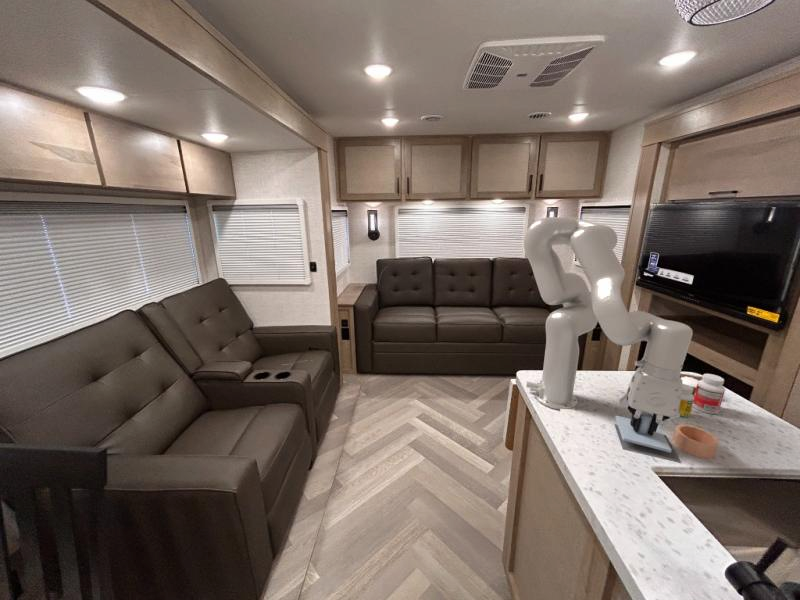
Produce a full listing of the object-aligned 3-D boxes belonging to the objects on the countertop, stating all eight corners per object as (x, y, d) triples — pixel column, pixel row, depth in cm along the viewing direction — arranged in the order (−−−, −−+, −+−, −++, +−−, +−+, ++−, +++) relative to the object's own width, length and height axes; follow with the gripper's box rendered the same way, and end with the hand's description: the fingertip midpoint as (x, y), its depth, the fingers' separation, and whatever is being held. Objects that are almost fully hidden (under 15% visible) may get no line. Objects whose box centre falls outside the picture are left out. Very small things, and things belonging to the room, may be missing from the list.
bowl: (679, 454, 79) (682, 440, 78) (667, 435, 87) (671, 421, 85) (720, 464, 76) (725, 449, 75) (705, 443, 83) (709, 429, 82)
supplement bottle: (669, 407, 99) (676, 380, 97) (691, 415, 95) (699, 387, 92) (663, 412, 96) (669, 385, 94) (685, 422, 92) (693, 393, 90)
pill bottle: (701, 402, 102) (709, 371, 99) (723, 413, 96) (733, 381, 93) (686, 404, 101) (694, 373, 98) (708, 415, 95) (717, 383, 92)
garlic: (674, 381, 115) (676, 372, 114) (698, 386, 112) (701, 376, 111) (680, 391, 108) (682, 381, 107) (706, 397, 105) (709, 387, 104)
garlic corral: (674, 392, 107) (675, 385, 106) (663, 378, 117) (664, 371, 116) (715, 400, 103) (718, 392, 102) (700, 384, 112) (703, 376, 112)
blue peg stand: (622, 440, 81) (628, 420, 79) (615, 417, 90) (619, 399, 88) (670, 452, 77) (677, 432, 75) (657, 427, 86) (663, 408, 84)
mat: (622, 451, 81) (622, 449, 80) (613, 426, 90) (614, 424, 90) (681, 466, 76) (681, 463, 76) (665, 437, 86) (665, 435, 85)
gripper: (624, 369, 78) (609, 430, 83) (708, 384, 71) (685, 449, 77) (618, 356, 84) (604, 414, 90) (694, 369, 78) (674, 430, 83)
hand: (642, 429), depth 83 cm, fingers closed on blue peg stand, 2 cm apart
